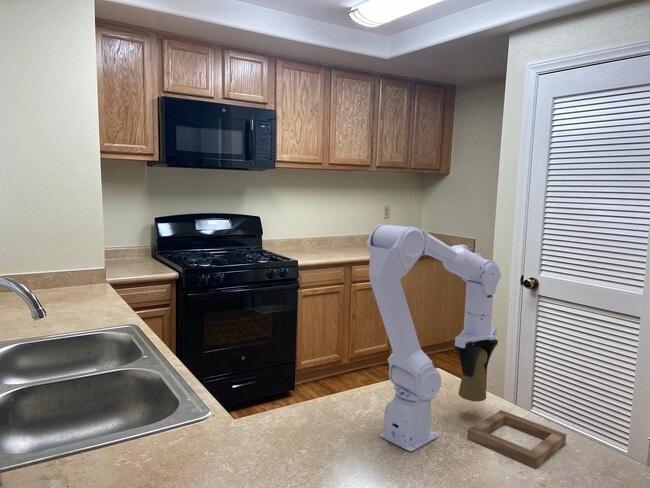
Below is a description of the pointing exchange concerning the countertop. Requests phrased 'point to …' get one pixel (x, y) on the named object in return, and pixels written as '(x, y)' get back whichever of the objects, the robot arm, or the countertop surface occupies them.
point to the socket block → (529, 457)
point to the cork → (475, 381)
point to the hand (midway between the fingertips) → (474, 372)
